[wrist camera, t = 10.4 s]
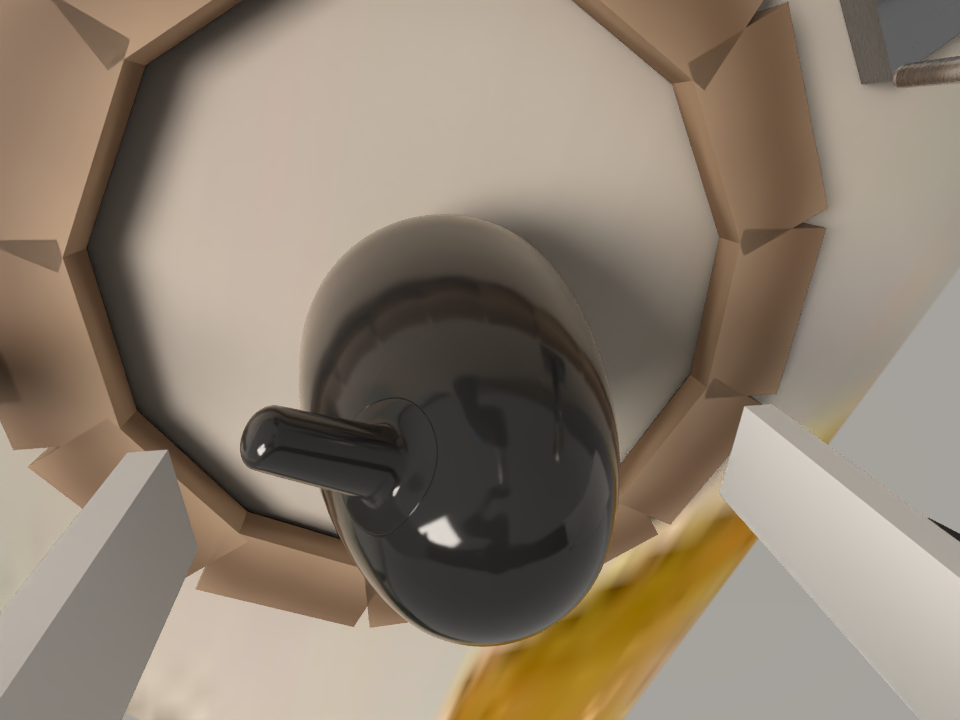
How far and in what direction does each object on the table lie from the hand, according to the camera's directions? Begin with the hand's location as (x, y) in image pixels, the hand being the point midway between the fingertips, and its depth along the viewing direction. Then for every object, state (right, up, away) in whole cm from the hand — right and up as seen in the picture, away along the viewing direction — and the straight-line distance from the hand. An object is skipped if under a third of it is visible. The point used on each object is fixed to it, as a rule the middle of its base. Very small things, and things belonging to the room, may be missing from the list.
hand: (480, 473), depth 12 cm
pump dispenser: (-2, +5, +11) cm, 12 cm away
